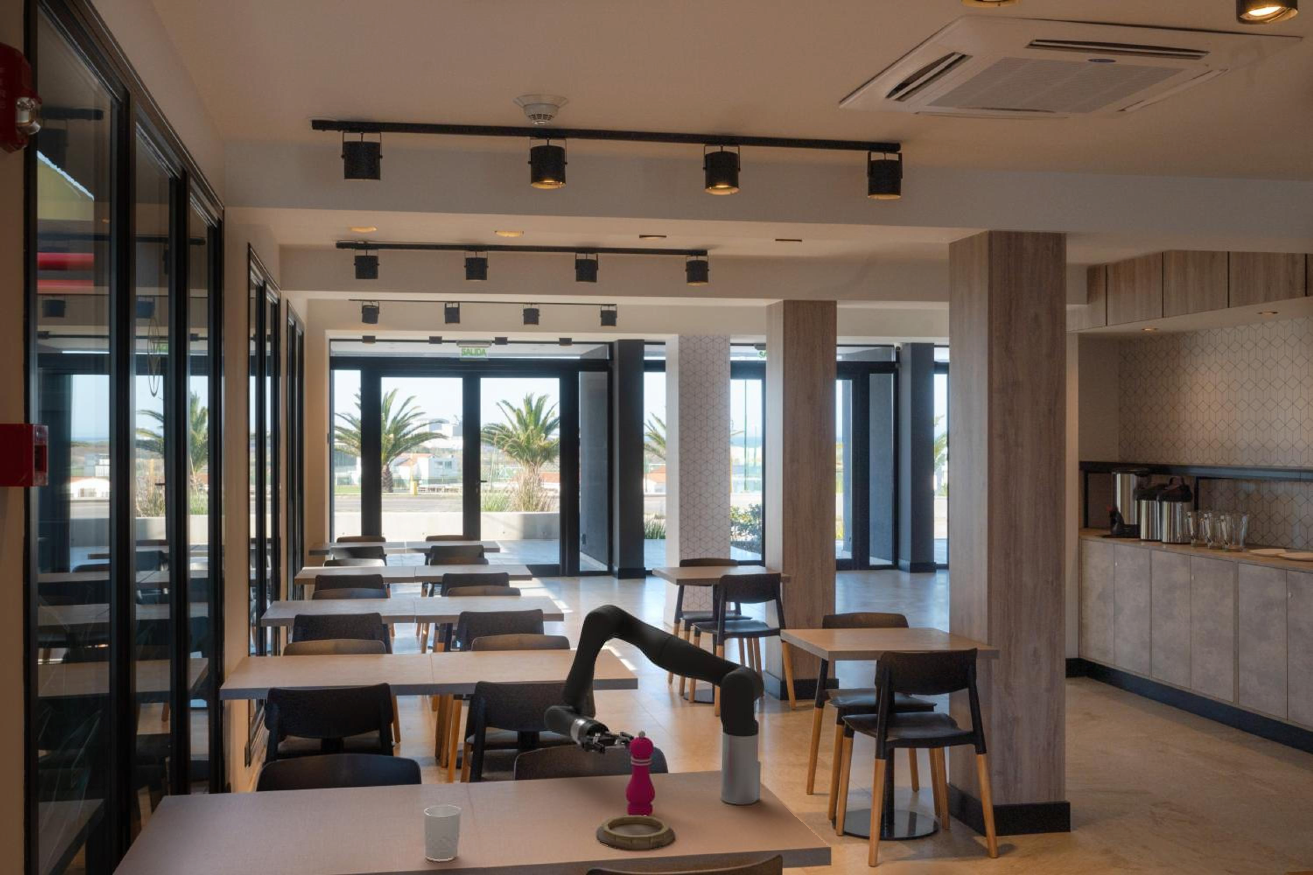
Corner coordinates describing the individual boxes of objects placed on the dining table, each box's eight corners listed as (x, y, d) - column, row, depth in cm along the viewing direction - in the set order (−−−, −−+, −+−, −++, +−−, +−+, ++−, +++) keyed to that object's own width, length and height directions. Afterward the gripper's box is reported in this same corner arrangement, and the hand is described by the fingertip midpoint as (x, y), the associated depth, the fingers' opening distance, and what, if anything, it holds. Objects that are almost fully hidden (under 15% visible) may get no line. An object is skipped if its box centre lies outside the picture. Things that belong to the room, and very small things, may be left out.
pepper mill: (651, 818, 284) (653, 735, 284) (622, 815, 285) (624, 733, 285) (657, 809, 291) (659, 728, 291) (628, 806, 292) (630, 726, 292)
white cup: (425, 850, 258) (426, 804, 258) (461, 849, 259) (462, 804, 259) (421, 863, 251) (422, 816, 251) (458, 862, 251) (459, 816, 251)
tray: (640, 818, 283) (641, 808, 283) (690, 839, 269) (690, 828, 269) (580, 833, 272) (580, 822, 272) (629, 855, 258) (629, 844, 258)
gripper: (566, 721, 308) (594, 736, 294) (614, 716, 315) (643, 731, 301) (565, 750, 308) (593, 766, 294) (613, 744, 315) (642, 760, 301)
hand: (618, 748), depth 298 cm, fingers open, 8 cm apart
